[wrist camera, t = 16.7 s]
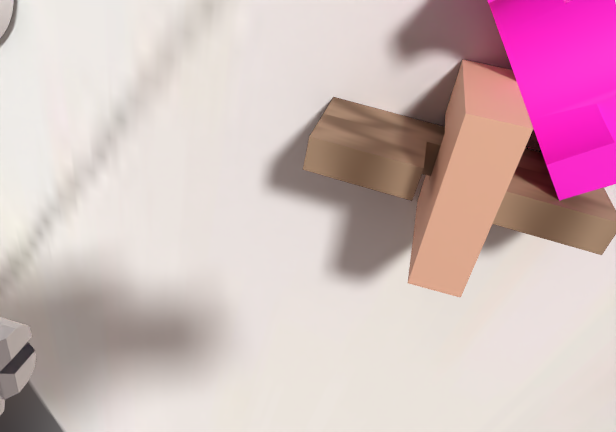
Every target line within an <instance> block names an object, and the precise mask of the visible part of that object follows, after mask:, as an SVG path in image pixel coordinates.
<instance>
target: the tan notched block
mask: <svg viewBox="0 0 616 432" xmlns="http://www.w3.org/2000/svg"><path fill="white" fill-rule="evenodd" d="M532 131H533V126H532V123H531V121H530V118H529V115H528V112H527V109H526V106H525V104H524V101H523V98H522V95H521V92H520V90H519V87H518V84H517V81H516V78H515V75H514V73H513V70H510V69H506V68H501V67H496V66H492V65H487V64H482V63H477V62H473V61H468V60H462V63H461V66H460V69H459V72H458V75H457V78H456V82H455V85H454V88H453V91H452V94H451V97H450V100H449V104H448V107H447V110H446V113H445V134H444V137H443V140H442V143H441V146H440V149H439V152H438V156H437V159H436V162H435V165H434V168H433V171H432V174H431V176H429V175H426V176H425V179H424V182H423V185H422V188H421V192H420V195H419V198H418V201H417V209H416V218H415V226H414V235H413V243H412V251H411V260H410V268H409V276H408V283H409V284H413V285H417V286H420V287H424V288H428V289H431V290H435V291H439V292H442V293H446V294H450V295H453V296H457V297H461V295H462V293H463V291H464V288H465V286H466V284H467V281H468V279H469V277H470V275H471V272H472V270H473V268H474V265H475V263H476V261H477V258H478V256H479V254H480V251H481V249H482V247H483V244H484V242H485V240H486V237H487V235H488V233H489V230H490V228H491V226H492V224H493V221H494V219H495V217H496V214H497V212H498V210H499V207H500V205H501V203H502V200H503V198H504V196H505V193H506V191H507V189H508V186H509V184H510V182H511V179H512V177H513V175H514V173H515V170H516V168H517V166H518V163H519V161H520V159H521V156H522V154H523V152H524V149H525V147H526V145H527V142H528V140H529V138H530V135H531V133H532Z"/></svg>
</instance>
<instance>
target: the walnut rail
mask: <svg viewBox="0 0 616 432" xmlns="http://www.w3.org/2000/svg"><path fill="white" fill-rule="evenodd" d="M444 134H445V127H443V126H440V125H436V124H432V123H429V122H425V121H421V120H417V119H414V118H410V117H406V116H403V115H399V114H395V113H391V112H388V111H384V110H380V109H377V108H373V107H369V106H365V105H362V104H358V103H354V102H351V101H347V100H343V99H339V98H336V97H333V99H332V100H331V102H330V104H329V105H328V107H327V109H326V110H325V112H324V114H323V115H322V117H321V118H320V120H319V122H318V123H317V125H316V127H315V128H314V130H313V131H312V133H311V135H310V136H309V141H308V146H307V151H306V156H305V161H304V166H303V170H306V171H309V172H313V173H316V174H320V175H323V176H327V177H330V178H334V179H337V180H341V181H344V182H348V183H351V184H355V185H358V186H362V187H365V188H369V189H372V190H376V191H379V192H383V193H386V194H390V195H393V196H397V197H400V198H404V199H407V200H411V201H412V200H413V197H414V194H415V191H416V189H417V186H418V183H419V180H420V177H421V175H422V174H425V175H429V176H431V174H432V171H433V168H434V165H435V162H436V159H437V156H438V152H439V149H440V146H441V143H442V140H443V137H444ZM493 224H495V225H498V226H502V227H505V228H509V229H512V230H516V231H519V232H523V233H526V234H530V235H533V236H537V237H540V238H544V239H547V240H551V241H554V242H558V243H561V244H565V245H568V246H572V247H575V248H579V249H582V250H586V251H589V252H593V253H596V254H600V255H602V254H603V252H604V251H605V249H606V248H607V246H608V245H609V243H610V242H611V240H612V239H613V237H614V236H615V234H616V210H615V208H614V206H613V205H612V203H611V201H610V199H609V197H608V195H607V193H606V191H605V189H604V187H603V188H600V189H597V190H593V191H590V192H586V193H583V194H580V195H576V196H573V197H570V198H566V199H563V200H559V199H558V196H557V193H556V190H555V187H554V185H553V182H552V179H551V176H550V173H549V171H548V168H547V165H546V162H545V159H544V157H543V154H542V153H540V152H536V151H533V150H529V149H524V152H523V154H522V156H521V159H520V161H519V163H518V166H517V168H516V170H515V173H514V175H513V177H512V179H511V182H510V184H509V186H508V189H507V191H506V193H505V196H504V198H503V200H502V203H501V205H500V207H499V210H498V212H497V214H496V217H495V219H494V221H493Z"/></svg>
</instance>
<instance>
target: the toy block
mask: <svg viewBox="0 0 616 432" xmlns="http://www.w3.org/2000/svg"><path fill="white" fill-rule="evenodd" d="M487 1H488V3H489V6H490V9H491V11H492V14H493V17H494V20H495V22H496V25H497V28H498V31H499V33H500V36H501V39H502V42H503V45H504V47H505V50H506V53H507V56H508V58H509V61H510V64H511V67H512V70H513V72H514V75H515V78H516V81H517V84H518V86H519V89H520V92H521V95H522V98H523V100H524V103H525V106H526V109H527V112H528V114H529V117H530V120H531V123H532V126H533V128H534V131H535V134H536V137H537V140H538V142H539V145H540V148H541V151H542V154H543V157H544V159H545V162H546V165H547V168H548V171H549V173H550V176H551V179H552V182H553V185H554V187H555V190H556V193H557V196H558V199H559V200H563V199H566V198H570V197H573V196H576V195H580V194H583V193H586V192H590V191H593V190H597V189H600V188H603V187H607V186H610V185H613V184H616V4H615V0H487Z"/></svg>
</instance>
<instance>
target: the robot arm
mask: <svg viewBox="0 0 616 432" xmlns="http://www.w3.org/2000/svg"><path fill="white" fill-rule="evenodd" d="M13 4H14V0H0V38H1V37H2V35H3V34H4V33H5V31H6V29H7V27H8V25H9V23H10V20H11V16H12V12H13ZM31 338H32V333H31V329H30V326H28V325H25V324H22V323H19V322H15V321H12V320H9V319H6V318H3V317H0V415H1V414H2V413H3V412H4V404H5V399H7V398H9V397H11V396H13V395H15V394H18V393H19V392H20V391H21V390H22V389H23V387H24V386H25V385H26V383H27V382H28V381H29V379H30V377H31V375H32V373H33V371H34V369H35V364H36V353H35V350H34V349H33V347H32V346H31V345H30V344H29V343H28V341H29V340H30V339H31Z"/></svg>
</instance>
